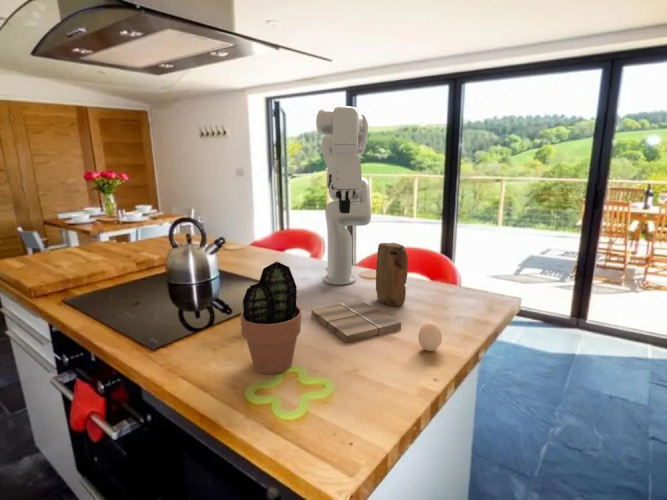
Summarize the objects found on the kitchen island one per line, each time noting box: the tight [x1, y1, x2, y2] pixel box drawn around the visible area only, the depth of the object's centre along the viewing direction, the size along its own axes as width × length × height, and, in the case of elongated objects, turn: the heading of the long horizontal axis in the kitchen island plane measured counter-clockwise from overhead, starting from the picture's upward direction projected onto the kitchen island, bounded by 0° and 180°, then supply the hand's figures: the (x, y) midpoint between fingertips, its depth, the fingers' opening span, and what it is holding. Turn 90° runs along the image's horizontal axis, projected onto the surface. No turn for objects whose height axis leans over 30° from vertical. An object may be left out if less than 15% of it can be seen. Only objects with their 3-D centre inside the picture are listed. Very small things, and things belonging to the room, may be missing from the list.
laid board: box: [339, 299, 402, 335], centre depth 118 cm, size 21×8×2 cm, turn 30°
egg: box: [417, 321, 443, 352], centre depth 98 cm, size 6×6×8 cm
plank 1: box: [310, 303, 357, 329], centre depth 117 cm, size 10×10×2 cm
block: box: [375, 242, 409, 307], centre depth 129 cm, size 11×8×20 cm
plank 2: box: [327, 315, 379, 343], centre depth 109 cm, size 10×10×2 cm
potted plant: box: [240, 261, 302, 375], centre depth 88 cm, size 14×14×25 cm
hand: (344, 212), depth 119 cm, fingers closed
